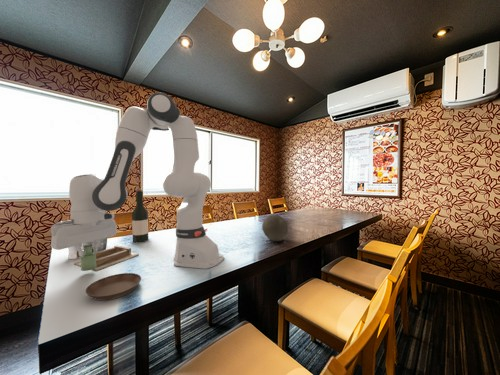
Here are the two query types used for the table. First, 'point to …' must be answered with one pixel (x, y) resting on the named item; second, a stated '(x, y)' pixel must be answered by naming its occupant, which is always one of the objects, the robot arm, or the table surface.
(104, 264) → the cradle
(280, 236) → the cantaloupe
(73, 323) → the table surface
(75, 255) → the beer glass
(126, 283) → the saucer
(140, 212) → the wine bottle
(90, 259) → the bottle
